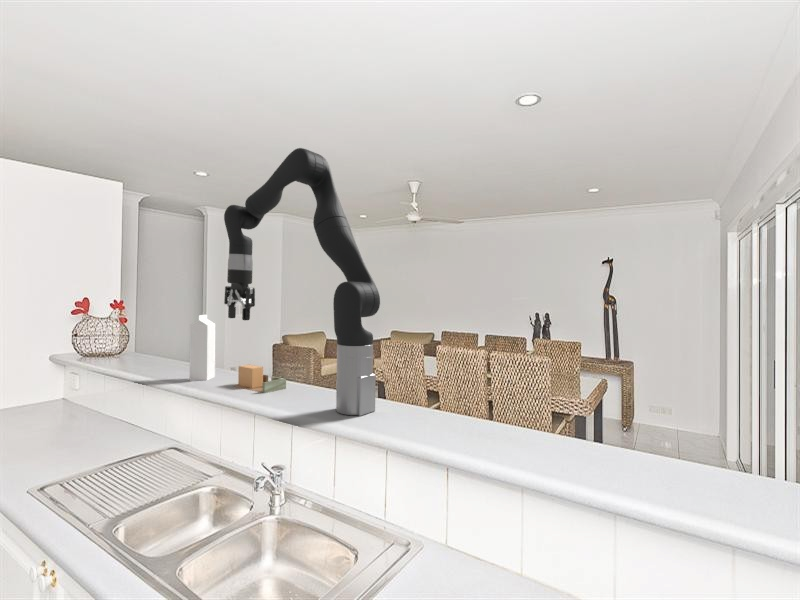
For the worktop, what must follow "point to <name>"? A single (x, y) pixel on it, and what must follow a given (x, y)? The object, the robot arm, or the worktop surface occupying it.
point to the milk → (202, 349)
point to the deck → (268, 385)
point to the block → (250, 376)
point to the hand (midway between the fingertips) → (238, 319)
